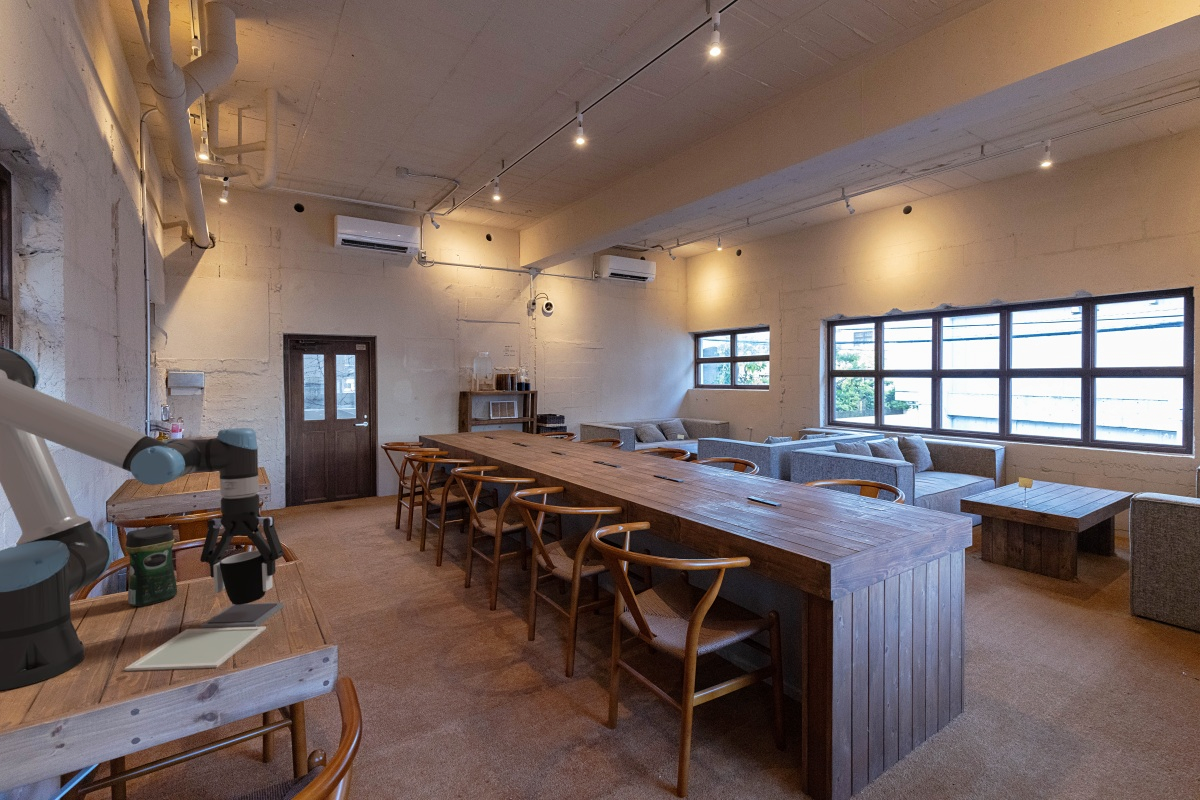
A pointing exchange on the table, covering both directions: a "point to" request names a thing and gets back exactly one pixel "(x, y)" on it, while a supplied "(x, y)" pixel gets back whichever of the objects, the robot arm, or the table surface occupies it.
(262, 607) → the ink pad
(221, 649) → the marked square
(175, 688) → the table surface
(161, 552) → the coffee jar
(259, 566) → the mug
